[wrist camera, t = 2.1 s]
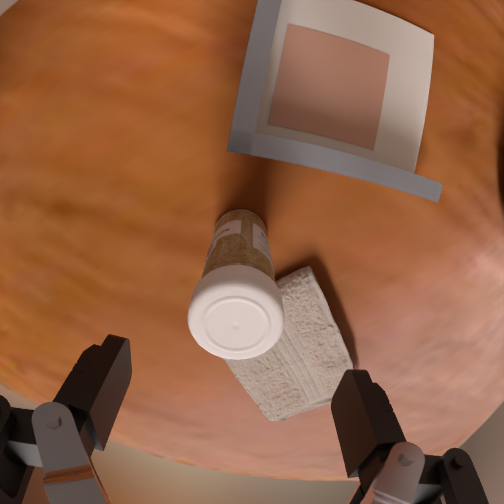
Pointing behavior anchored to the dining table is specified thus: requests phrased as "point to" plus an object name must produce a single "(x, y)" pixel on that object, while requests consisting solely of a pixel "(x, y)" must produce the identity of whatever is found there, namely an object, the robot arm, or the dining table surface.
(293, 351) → the washcloth
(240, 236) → the sprinkles bottle
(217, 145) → the dining table surface
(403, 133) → the arena
